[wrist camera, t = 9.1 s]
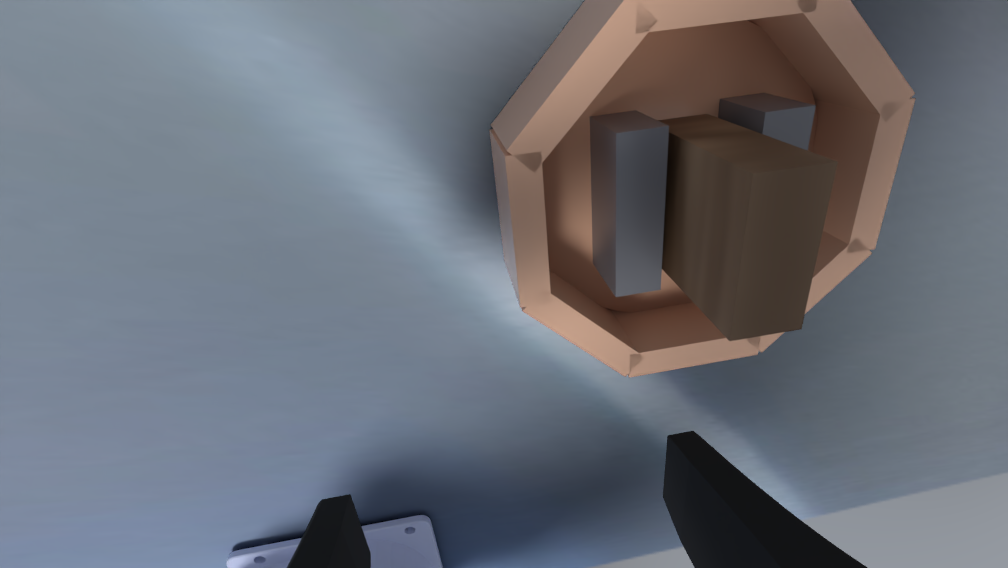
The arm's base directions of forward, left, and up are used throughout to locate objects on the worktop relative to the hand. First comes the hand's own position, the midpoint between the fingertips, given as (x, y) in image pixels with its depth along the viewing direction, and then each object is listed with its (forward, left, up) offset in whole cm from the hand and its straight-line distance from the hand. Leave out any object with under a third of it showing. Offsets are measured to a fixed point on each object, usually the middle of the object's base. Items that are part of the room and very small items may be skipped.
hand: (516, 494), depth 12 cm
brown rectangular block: (+7, +4, -8) cm, 12 cm away
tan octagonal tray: (+7, +4, -9) cm, 12 cm away
